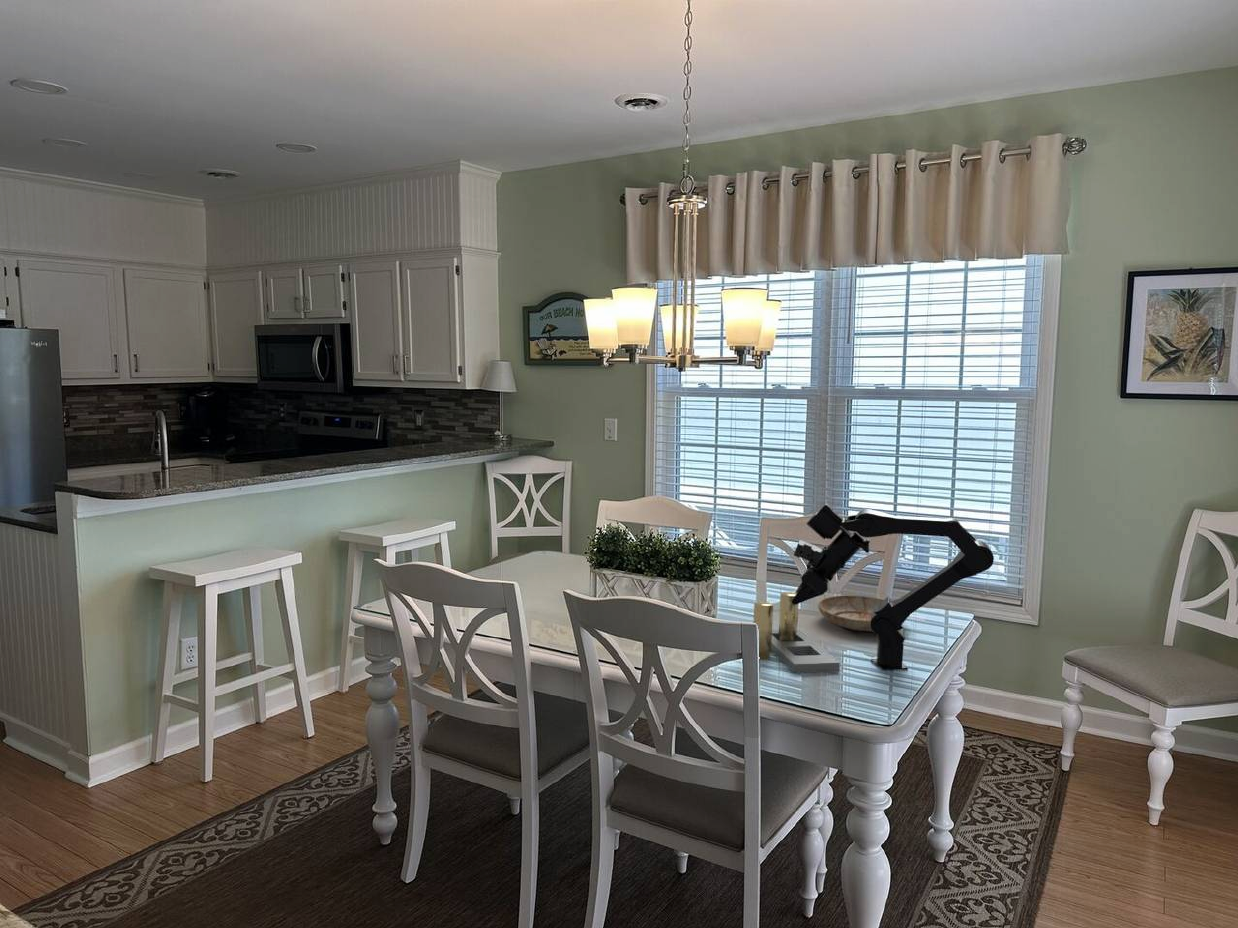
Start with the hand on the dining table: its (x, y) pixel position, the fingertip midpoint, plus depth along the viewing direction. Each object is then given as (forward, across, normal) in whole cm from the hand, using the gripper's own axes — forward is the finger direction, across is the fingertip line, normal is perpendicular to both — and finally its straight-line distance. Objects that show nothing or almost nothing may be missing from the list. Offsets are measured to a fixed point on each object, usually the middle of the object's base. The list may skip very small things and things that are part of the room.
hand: (795, 598), depth 207 cm
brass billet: (+15, +6, +3) cm, 16 cm away
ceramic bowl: (+2, -31, +20) cm, 37 cm away
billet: (+12, -6, +7) cm, 15 cm away
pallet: (+10, 0, +9) cm, 14 cm away
